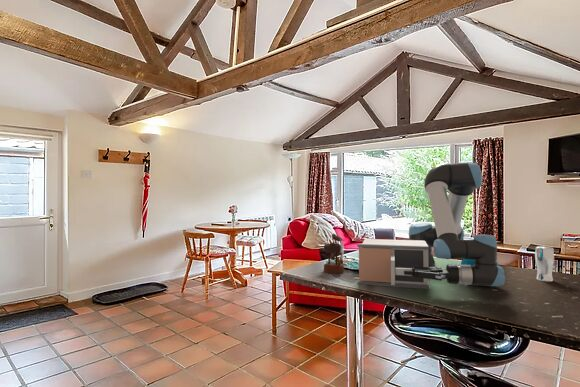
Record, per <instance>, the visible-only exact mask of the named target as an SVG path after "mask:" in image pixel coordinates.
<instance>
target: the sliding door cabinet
mask: <svg viewBox="0 0 580 387" xmlns="http://www.w3.org/2000/svg"><path fill="white" fill-rule="evenodd" d="M356 247H357V248H359V247H367V248H391V254H393V255H395V268H413V267H428V250H429V247H428V245H427V243H426V242H425V241H422V240H409V239H388V238H387V239H380V238H378V239H377V238H376V239H375V238H364V240H363V241H362V243H357V246H356ZM429 280H430V279H425V278H416V277H415V276H406V275H395V285H391V283H389V282H374V281H359V279H358V280H357V285H368V286H380V287H381V286H382V287H384V286H385V287H395V288H410V289H411V288H414V289H425V290H430V285H429V283H430V281H429Z"/></svg>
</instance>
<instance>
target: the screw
mask: <svg viewBox="0 0 580 387" xmlns="http://www.w3.org/2000/svg"><path fill="white" fill-rule="evenodd" d="M340 242H341V247H342V249H341V253H342V255H339V260H340V257H341V258H342V260H343V262H344V263H346V262H347V259H346V258H345V259H344V241H340Z"/></svg>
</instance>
